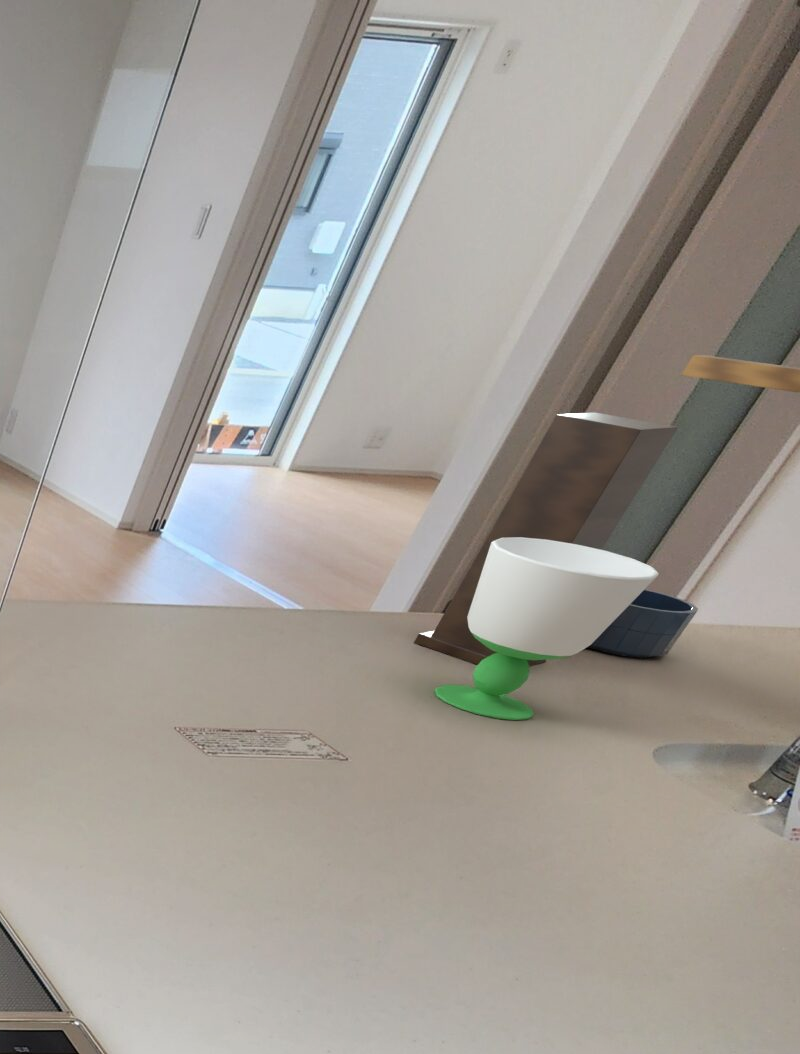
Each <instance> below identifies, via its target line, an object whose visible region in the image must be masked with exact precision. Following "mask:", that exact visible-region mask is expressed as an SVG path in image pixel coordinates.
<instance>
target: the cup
mask: <svg viewBox="0 0 800 1054" xmlns="http://www.w3.org/2000/svg"><path fill="white" fill-rule="evenodd" d="M658 576H659V572H658V571H657V570H656V569H655V568H654V567H653V566H652V565H649V564H646V563H644V562H642V561H639V560H637V559H634V558H632V557H629V556H625V555H621V554H619V553H615V552H612V551H608V550H604V549H601V550H600V549H595V548H591V547H586V546H581V545H577V544H571V543H564V542H558V541H552V540H545V539H534V538H523V537H512V538H500V539H497V540H495V541H493V542H491V545H490V548H489V551H488V554H487V557H486V560H485V564H484V567H483V570H482V573H481V576H480V579H479V582H478V585H477V588H476V592H475V595H474V598H473V601H472V604H471V607H470V610H469V613H468V616H467V619H468V627H469V629H470V631H471V633H472V634H473V636H474V637H475V638H476V639H477V640H478V641H480V642H481V643H482V644H484V645H485V646H486V647H488V648H489V649H491V650H493V651H495V652H498V653H494V654H492V655H490V656H488V657H487V658H485V659H483V660H482V661H481V662H480V663H479V664H478V665H477V664H476V666H475V668H474V670H473V673H472V678H473V679H472V680H473V684H474V686H475V687H474V686H469V685H461V684H445V685H439V686H438V687H436V688H435V689H434V692H435V693H434V694H435V696H436V697H437V698H439V699H440V700H441V701H443V702H444V703H446V704H448V705H451V706H452V707H454V708H456V709H459V710H463V711H465V712H469V713H472V714H475V715H478V716H483V717H487V718H493V719H497V720H507V721H525V720H526V721H527V720H530V719H531V718H532V717H533V716H534V715H535V713H534V712H533V710H532V708H531V707H530V706H529V705H526V704H525V703H524V702H522V701H520V700H518V699H515V698H513V697H510V696H508V694H510V693H512V692H514V691H516V690H518V689H520V688H521V687H522V686H523V684H525V683H526V682H527V680H528V677H529V675H530V670H531V669H530V666H529V664H528V662H527V660H546V659H547V660H556V659H557V660H558V659H565V658H568V657H571V656H574V655H576V654H578V653H580V652H582V651H583V650H585V649H586V648H587V649H588V646H590V645H591V644H592V643H593V642H594V641H595V640H596V639H597V638H598V637H599V636H600V635H601V634H602V633H603V632H604V631H605V630H606V629H607V628H608V626H609V625H610V624H611V623H612V622H613V621H614V620H615V619H616V618H617V617H618V616H619V615H620V614H621V613H622V612H623V611H624V610H625V609H626V608H627V607H628V606H629V605H630V604H631V603H632V602H633V601H634V600H635V599H636V598H637V597H638V596H639V595H640V594H641V593H642V591H643V590H644V589H647V587H648V586H650V584H652V583H653V581H654V580H655V579H656V578H657V577H658ZM547 660H546V661H547Z"/></svg>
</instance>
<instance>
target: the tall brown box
mask: <svg viewBox="0 0 800 1054" xmlns="http://www.w3.org/2000/svg"><path fill="white" fill-rule="evenodd" d="M678 429H679V427H678V426H674V425H669V424H663V423H657V422H652V421H647V420H641V419H635V418H629V417H623V416H618V415H612V414H606V413H601V412H595V411H594V412H577V413H576V412H575V413H560V414H558V413H557V414H556V415H555V416H554V418H553V420H552V421H551V424H550V425H549V427H548V428H547V431H545V434H544V435H543V438H542V439H541V441H540V443H539V444H538V446H537V448H536V449H535V452H534V453H533V455H532V456H531V459H530V461H529V463H528V464H527V466H526V467H525V469H524V471H523V473H522V475H521V477H520V478H519V480H518V482H517V484H516V485H515V487H514V489H513V491H512V493H511V494H510V496H509V498H508V500H507V501H506V503H505V505H504V506H503V508H502V510H501V512H500V513H499V516H498V517H497V519H496V521H495V522H494V525H493V526H492V528H491V530H490V531H489V533H488V535H487V536H486V538H485V540H484V542H483V544H482V545H481V548H480V549H479V551H478V553H477V555H476V556H475V558H474V559H473V562H472V563H471V564H470V567H469V569H468V570H467V572H466V574H465V576H464V578H463V579H462V581H461V583H460V584H459V586H458V588H457V590H456V592H455V593H454V596H453V597H452V599H451V601H450V602H449V604H448V605H447V607H446V609H445V611H444V613H443V614H442V616H441V618H440V620H439V622H438V624H437V625H436V627H435V629H434V630H431V631H425V632H420V633H418V634H417V635H416V638H414V639H415V640H414V641H413V643H414V644H415V645H419V646H422V647H424V648H428V649H431V650H433V651H436V652H440V653H443V654H446V655H448V656H451V657H454V658H457V659H459V660H462V661H465V662H469V663H471V664H474V665H476V666H477V665H478V664H479V663H480V662H481V661H482V660H483V659H485V658H487V657H488V656H490V655H492V654H494V653H498V652H495V651H493V650H491V649H489V648H488V647H486V646H485V645H484V644H482V643H481V642H480V641H478V640H477V639H476V638H475V637H474V636H473V634H472V633H471V631H470V629H469V627H468V619H467V616H468V613H469V610H470V607H471V604H472V601H473V598H474V595H475V592H476V588H477V585H478V582H479V579H480V576H481V573H482V570H483V567H484V564H485V560H486V557H487V554H488V551H489V548H490V545H491V542H493V541H495V540H497V539H500V538H512V537H523V538H534V539H545V540H552V541H558V542H564V543H571V544H577V545H581V546H586V547H591V548H595V549H600V550H603V548H604V547H605V545H606V543H607V542H608V540H609V538H610V537H611V536H612V534H613V532H614V530H615V529H616V527H617V526H618V524H619V522H620V521H621V519H622V517H624V514H625V513H626V511H627V510H628V508H629V507H630V505H631V503H632V502H633V500H634V499H635V497H636V496H637V494H638V492H639V490H640V489H641V487H643V484H644V483H645V481H646V480H647V478H648V476H649V475H650V473H651V472H652V470H653V469H654V467H655V466H656V464H657V462H658V460H659V459H660V458H661V455H662V454H663V452H664V451H665V450H666V448H667V447H668V445H669V443H670V442H671V440H672V438H673V437H674V435H675V434H676V432H677V431H678ZM547 660H548V659H546V660H527V662H528V664H529V667H530V666H534V665H539V664H544V663H546V662H547Z"/></svg>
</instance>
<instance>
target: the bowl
mask: <svg viewBox="0 0 800 1054" xmlns="http://www.w3.org/2000/svg"><path fill="white" fill-rule="evenodd" d="M698 610H699V608H698V607H697V606H696V605H695V604H694V603H691V602H689V601H687V600H685V599H682V598H679V597H676V596H673V595H670V594H667V593H663V592H660V591H657V590H656V591H655V590H652V589H648V588H645V589H644V590H643V591H642V593H641V594H640V595H639V596H638V597H637V598H636V599H635V600H634V601H633V602H632V603H631V604H630V605H629V606H628V607H627V608H626V609H625V610H624V611H623V612H622V613H621V614H620V615H619V616H618V617H617V618H616V619H615V620H614V621H613V622H612V623H611V624H610V625H609V626H608V628H607V629H606V630H605V631H604V632H603V633H602V634H601V635H600V636H599V637H598V638H597V639H596V640H595V641H594V642H593V643H592V644H591V645H590V646H588V647H587V649H588V648H589V649H592V650H594V651H598V652H602V653H606V654H611V655H615V656H622V657H629V658H638V659H639V658H653V657H661V656H665V655H668V654H669V652H670V651H671V650H672V648H673V647H674V645H675V644H676V642H677V641H678V639H679V638H680V636H682V634H683V632H684V631H685V630H686V628H687V627H688V625H689V624H690V623H691V621H692V620H693V618H694V617H695V616H696V614H697V613H698Z"/></svg>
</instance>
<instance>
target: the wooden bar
mask: <svg viewBox="0 0 800 1054" xmlns="http://www.w3.org/2000/svg"><path fill="white" fill-rule="evenodd" d="M681 376H682V377H683V376H684V377H690V378H697V379H703V380H710V381H716V382H724V383H731V384H738V385H743V386H744V385H745V386H751V387H758V388H759V387H760V388H764V389H765V388H766V389H772V390H778V391H779V390H780V391H786V392H793V393H800V367H796V366H788V365H781V364H775V363H765V362H759V361H751V360H744V359H738V358H737V359H736V358H730V357H722V356H716V355H715V356H713V355H707V354H693V355H692V356H691V358H690V360H689V362H688V363H687V364H686V366H685V368H684V369H683V371H682V373H681Z"/></svg>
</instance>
